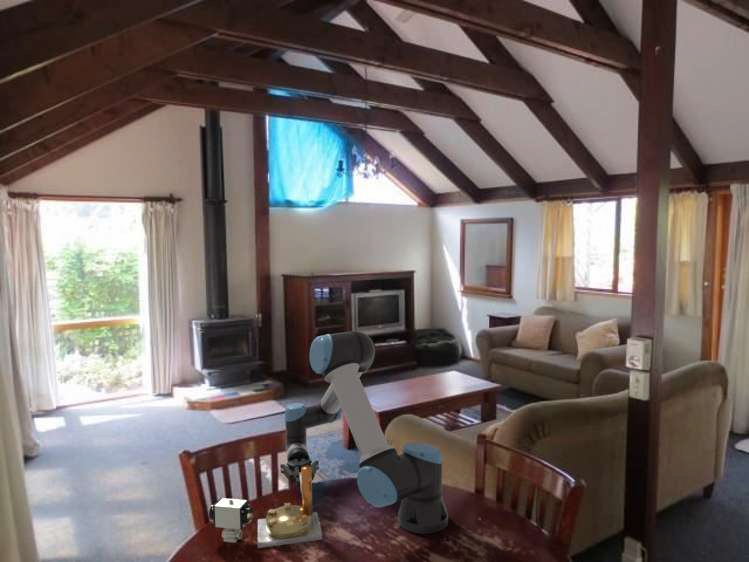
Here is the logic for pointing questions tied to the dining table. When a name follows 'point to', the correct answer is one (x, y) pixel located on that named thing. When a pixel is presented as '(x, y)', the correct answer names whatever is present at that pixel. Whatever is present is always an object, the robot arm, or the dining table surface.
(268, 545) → the flange plate
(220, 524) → the pneumatic valve
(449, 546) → the dining table surface
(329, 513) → the dining table surface
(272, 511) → the brass lugged disc
